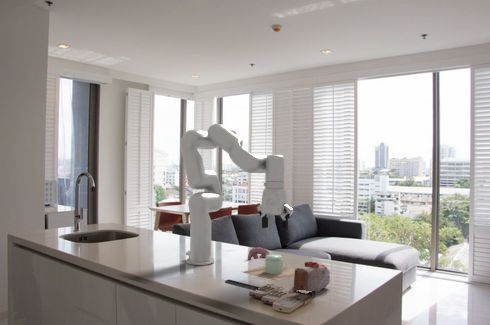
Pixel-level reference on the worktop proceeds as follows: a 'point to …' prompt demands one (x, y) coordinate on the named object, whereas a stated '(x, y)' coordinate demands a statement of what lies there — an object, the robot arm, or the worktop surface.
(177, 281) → the worktop surface
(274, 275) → the post stand
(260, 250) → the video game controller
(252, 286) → the mat
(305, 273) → the food item
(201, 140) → the robot arm
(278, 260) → the cap
